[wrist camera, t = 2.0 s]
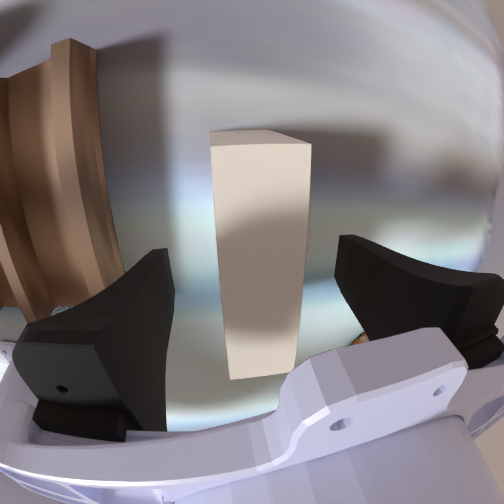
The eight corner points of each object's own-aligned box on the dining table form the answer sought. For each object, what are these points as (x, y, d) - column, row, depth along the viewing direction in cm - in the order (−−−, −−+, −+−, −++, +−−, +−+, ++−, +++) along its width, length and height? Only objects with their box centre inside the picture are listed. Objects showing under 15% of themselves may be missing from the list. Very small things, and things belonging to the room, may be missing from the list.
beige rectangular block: (266, 289, 19) (293, 371, 13) (220, 293, 19) (229, 379, 13) (267, 129, 14) (311, 144, 8) (209, 131, 14) (210, 146, 8)
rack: (130, 294, 18) (119, 330, 15) (-7, 299, 16) (-27, 325, 13) (97, 50, 11) (70, 38, 8) (-51, 116, 9) (-83, 124, 6)
